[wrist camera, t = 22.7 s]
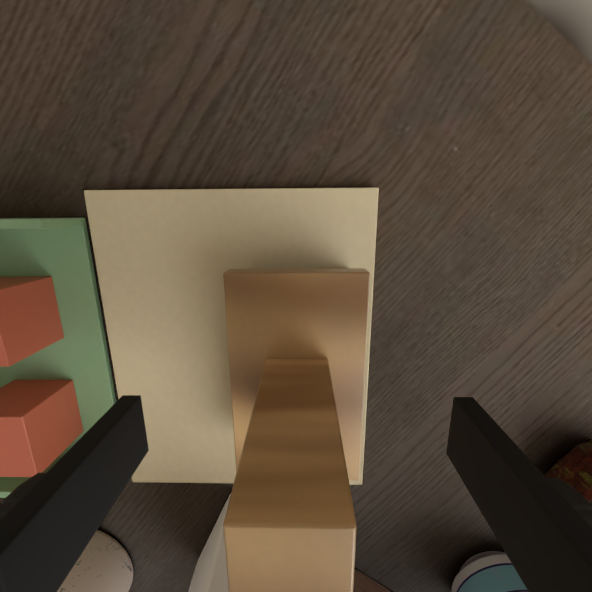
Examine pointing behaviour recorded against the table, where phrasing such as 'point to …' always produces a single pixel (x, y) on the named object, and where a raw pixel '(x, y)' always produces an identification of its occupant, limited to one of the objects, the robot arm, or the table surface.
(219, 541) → the container
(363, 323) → the brush
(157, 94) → the table surface
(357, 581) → the tissue box cover
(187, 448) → the mat
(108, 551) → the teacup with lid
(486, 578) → the beverage can
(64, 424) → the cube
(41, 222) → the dustpan
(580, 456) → the toy car
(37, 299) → the cube
